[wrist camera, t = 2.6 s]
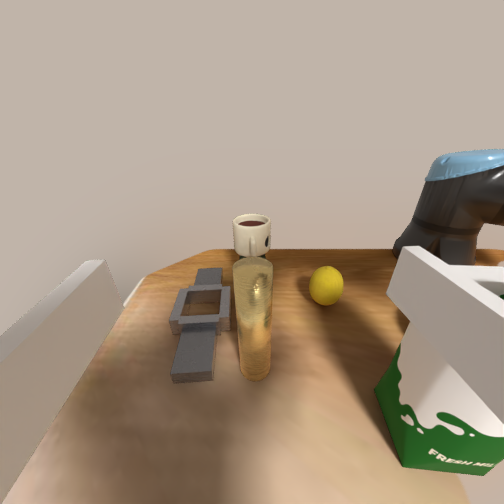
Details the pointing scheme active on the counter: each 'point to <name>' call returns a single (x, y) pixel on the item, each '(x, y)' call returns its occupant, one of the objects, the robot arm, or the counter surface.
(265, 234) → the character mug
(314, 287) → the lemon
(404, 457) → the milk carton
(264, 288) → the link pin
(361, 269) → the counter surface
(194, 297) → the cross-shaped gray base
